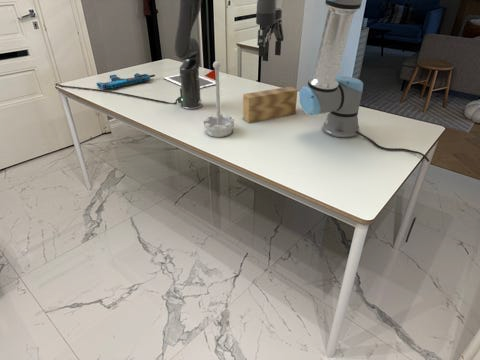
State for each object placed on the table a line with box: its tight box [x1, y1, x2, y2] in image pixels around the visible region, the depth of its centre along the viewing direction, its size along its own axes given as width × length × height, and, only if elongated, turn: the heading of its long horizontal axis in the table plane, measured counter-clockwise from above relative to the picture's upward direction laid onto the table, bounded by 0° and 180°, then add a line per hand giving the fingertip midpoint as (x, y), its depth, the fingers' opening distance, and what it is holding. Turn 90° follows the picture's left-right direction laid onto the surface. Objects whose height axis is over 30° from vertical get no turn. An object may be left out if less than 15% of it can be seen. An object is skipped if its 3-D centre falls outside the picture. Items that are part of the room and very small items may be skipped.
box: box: [242, 86, 298, 124], centre depth 161 cm, size 26×6×12 cm, turn 115°
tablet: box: [163, 73, 216, 89], centre depth 211 cm, size 32×20×1 cm, turn 41°
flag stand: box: [203, 60, 235, 138], centre depth 141 cm, size 13×13×30 cm
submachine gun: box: [95, 72, 156, 90], centre depth 209 cm, size 34×4×25 cm
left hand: (263, 53), depth 143 cm, fingers open, 8 cm apart
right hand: (271, 58), depth 164 cm, fingers open, 13 cm apart
